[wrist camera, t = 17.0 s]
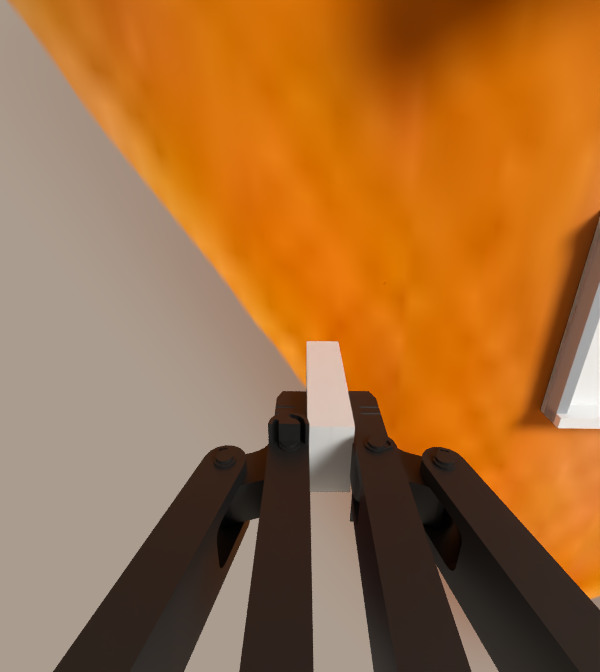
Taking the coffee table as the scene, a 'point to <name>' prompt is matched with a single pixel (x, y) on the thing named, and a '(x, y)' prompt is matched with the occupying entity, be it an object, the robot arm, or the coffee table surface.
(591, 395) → the tray
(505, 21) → the coffee table surface
